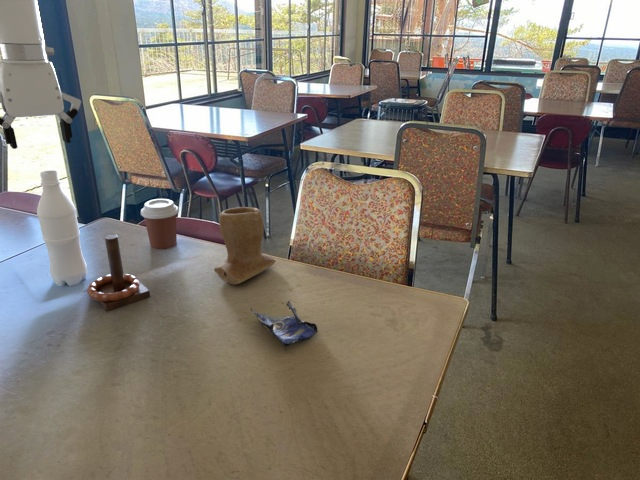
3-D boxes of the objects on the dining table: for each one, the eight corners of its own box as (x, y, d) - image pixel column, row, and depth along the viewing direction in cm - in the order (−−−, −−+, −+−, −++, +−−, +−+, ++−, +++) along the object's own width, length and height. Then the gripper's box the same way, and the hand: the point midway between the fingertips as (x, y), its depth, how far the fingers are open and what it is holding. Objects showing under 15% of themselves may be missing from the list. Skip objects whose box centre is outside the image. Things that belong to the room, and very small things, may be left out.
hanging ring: (98, 308, 94) (96, 301, 93) (81, 288, 101) (80, 281, 100) (147, 292, 100) (146, 285, 99) (128, 274, 107) (127, 268, 106)
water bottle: (96, 280, 107) (76, 171, 97) (66, 293, 102) (41, 179, 91) (76, 271, 110) (54, 165, 100) (46, 284, 105) (20, 173, 95)
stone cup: (245, 253, 122) (243, 197, 116) (282, 266, 116) (281, 207, 110) (200, 275, 110) (195, 214, 104) (238, 291, 104) (235, 227, 98)
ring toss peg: (107, 311, 96) (96, 250, 90) (91, 294, 102) (79, 235, 96) (150, 296, 101) (142, 238, 96) (132, 280, 107) (124, 225, 102)
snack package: (303, 311, 98) (247, 318, 94) (306, 286, 95) (248, 293, 91) (322, 353, 89) (260, 363, 85) (326, 327, 85) (261, 337, 81)
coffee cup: (189, 242, 127) (185, 199, 122) (169, 256, 119) (164, 211, 114) (159, 237, 129) (154, 195, 124) (137, 251, 121) (131, 206, 116)
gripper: (67, 52, 98) (80, 136, 105) (-35, 52, 87) (-13, 145, 94) (78, 55, 93) (92, 143, 100) (-29, 55, 82) (-6, 153, 89)
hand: (41, 144), depth 97 cm, fingers open, 9 cm apart
